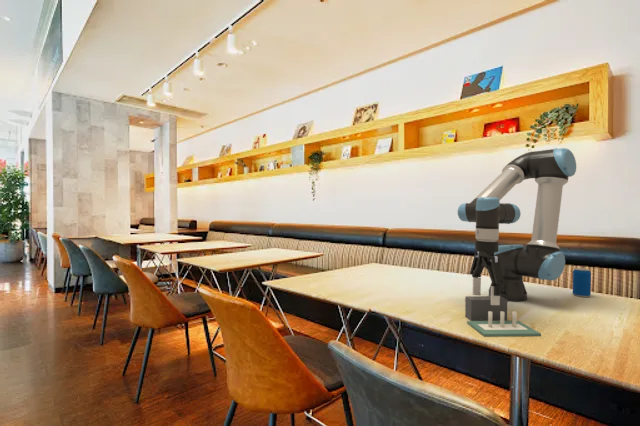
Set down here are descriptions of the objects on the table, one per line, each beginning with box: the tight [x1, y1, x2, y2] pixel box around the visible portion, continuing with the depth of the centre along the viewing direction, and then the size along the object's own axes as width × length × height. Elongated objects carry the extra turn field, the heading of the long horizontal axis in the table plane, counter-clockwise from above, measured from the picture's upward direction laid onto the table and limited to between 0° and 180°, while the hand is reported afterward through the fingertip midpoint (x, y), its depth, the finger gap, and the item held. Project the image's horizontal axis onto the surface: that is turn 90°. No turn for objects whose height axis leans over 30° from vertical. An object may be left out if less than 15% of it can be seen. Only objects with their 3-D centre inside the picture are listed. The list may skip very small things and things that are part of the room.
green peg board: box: [466, 310, 542, 337], centre depth 116 cm, size 18×12×6 cm, turn 91°
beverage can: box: [572, 267, 592, 298], centre depth 158 cm, size 6×6×12 cm
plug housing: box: [464, 295, 508, 321], centre depth 127 cm, size 13×5×7 cm, turn 91°
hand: (485, 299), depth 126 cm, fingers open, 13 cm apart
